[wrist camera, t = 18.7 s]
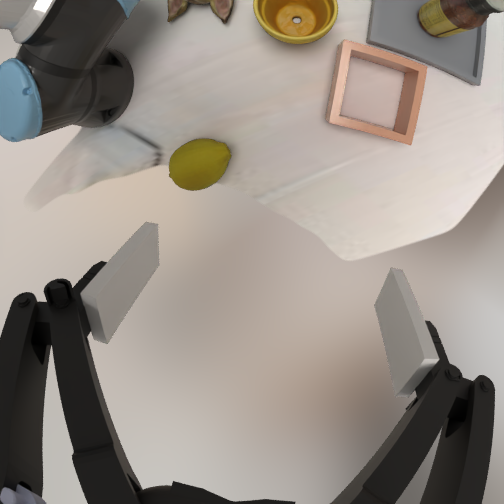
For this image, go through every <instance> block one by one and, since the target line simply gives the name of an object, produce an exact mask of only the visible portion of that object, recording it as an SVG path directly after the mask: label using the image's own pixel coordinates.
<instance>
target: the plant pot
mask: <svg viewBox="0 0 504 504" xmlns="http://www.w3.org/2000/svg"><path fill="white" fill-rule="evenodd" d="M253 8H254V13H255V16H256V18H257V20H258V22H259V23H260V25H261V26H262V28H263V29H264V30H265V31H266V32H267V33H268V34H269V35H271V36H272V37H274V38H276V39H278V40H280V41H283V42H287V43H292V44H304V43H310V42H313V41H316V40H318V39H320V38H321V37H323V36H324V35H325V34H327V33H328V32H329V30H330V29H331V28H332V26H333V25H334V23H335V21H336V18H337V14H338V4H337V0H254V2H253ZM294 17H299V18H300V19H301V22H300V23H298V24H297V23H294V22H293V18H294Z"/></svg>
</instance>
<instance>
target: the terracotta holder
mask: <svg viewBox="0 0 504 504" xmlns="http://www.w3.org/2000/svg"><path fill="white" fill-rule="evenodd" d="M350 56H353V57H357V58H360V59H364V60H367V61H371V62H374V63H377V64H381V65H384V66H387V67H390V68H393V69H396V70H399V71H402V72H404V73H405V77H404V82H403V88H402V93H401V98H400V103H399V108H398V112H397V117H396V122H395V126H394V130H393V129H389V128H386V127H383V126H379V125H376V124H372V123H369V122H365V121H362V120H358V119H354V118H350V117H346V116H342V115H340V110H341V105H342V100H343V95H344V89H345V84H346V78H347V72H348V67H349V61H350ZM426 73H427V66H424V65H422V64H419V63H417V62H414V61H412V60H409V59H406V58H403V57H401V56H398V55H395V54H392V53H389V52H386V51H383V50H380V49H377V48H373V47H370V46H366V45H363V44H359V43H356V42H352V41H348V40H343V41H342V42H341V43H340V44H339V45H338V50H337V56H336V62H335V68H334V74H333V79H332V85H331V91H330V96H329V102H328V107H327V112H326V117H325V119H326V120H327V121H328V122H329V123H332V124H336V125H341V126H345V127H349V128H353V129H357V130H360V131H364V132H368V133H371V134H375V135H378V136H382V137H385V138H389V139H392V140H395V141H398V142H402V143H405V144H408V145H411V144H412V140H413V136H414V132H415V128H416V123H417V119H418V114H419V110H420V105H421V100H422V95H423V90H424V84H425V79H426Z"/></svg>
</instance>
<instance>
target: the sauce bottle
mask: <svg viewBox="0 0 504 504" xmlns="http://www.w3.org/2000/svg"><path fill="white" fill-rule="evenodd" d="M503 11H504V0H430V1H428V2H427V3H425V4H424V5H422V7H421V8H420V10H419V12H418V20H419V24H420V26H421V27H422V29H423V30H424V31H425V32H427V33H428V34H430V35H431V36H433V37H437V38H441V37H449V36H452V35H455V34H458V33H461V32H465V31H468V30H472V29H474V28H476V27H480V26H482V25H483V23H484V22H485V21H486V19H487V18H488V17H489V14H491V13H500V12H503Z"/></svg>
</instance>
